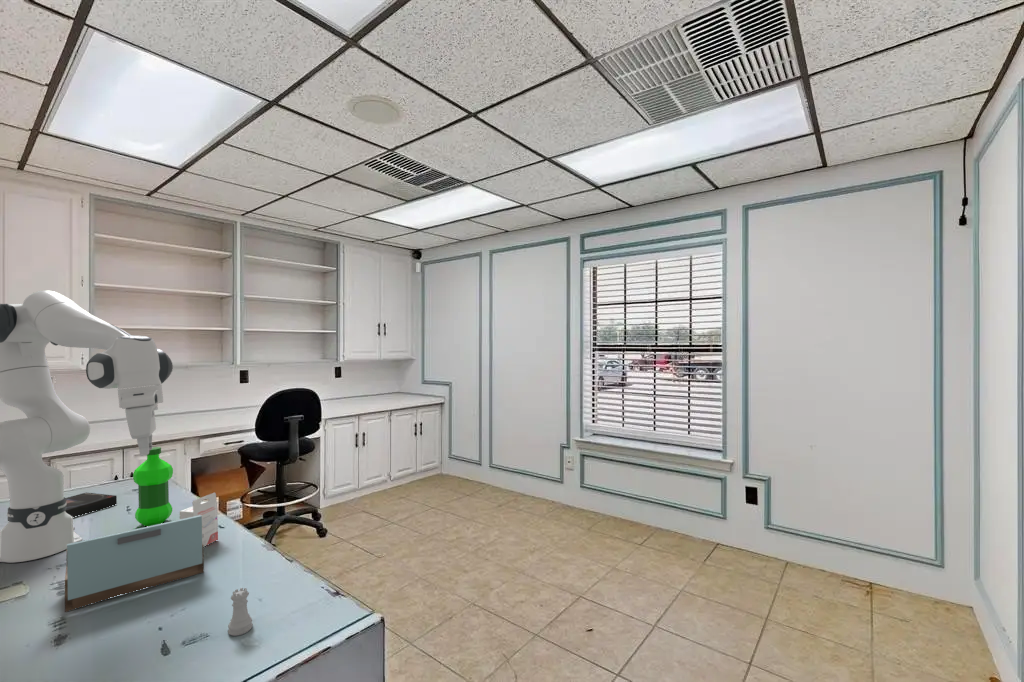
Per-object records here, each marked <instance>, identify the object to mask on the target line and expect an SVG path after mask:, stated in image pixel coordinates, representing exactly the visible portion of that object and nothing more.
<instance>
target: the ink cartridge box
mask: <svg viewBox="0 0 1024 682" xmlns="http://www.w3.org/2000/svg"><path fill="white" fill-rule="evenodd" d="M204 500H205V501H204ZM206 500H207V501H206ZM191 503H192V506H189V507H187V508H185V509H182V510H179V520H180V519H185V518H189V517H194V516H198V515H201V516H202V544H203V547H204V546H206V545H208V544H210V543H212V542H214V541H216V540H219V530H218V529H219V527H218V526H219V525H218V524H219V523H218V521H219V519H218V502H217V494H216V492H213V493H209V494H207V495H205V496H202V497H200V498H197V499H195V500H192V502H191ZM216 542H217V541H216ZM214 543H215V542H214ZM212 544H213V543H212ZM210 545H211V544H210ZM208 546H209V545H208ZM206 547H207V546H206ZM204 548H205V547H204Z"/></svg>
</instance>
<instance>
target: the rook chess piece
mask: <svg viewBox="0 0 1024 682" xmlns="http://www.w3.org/2000/svg"><path fill="white" fill-rule="evenodd" d="M249 594H250V592H249V591H248V589H247V587H244V588H243V587H240V588H238V589H235V590H234V591H233V592H232V595H231V597H230V599H231V601H233V603H232V604H231V606H232V608H233V609H232V615H231V618H230V622H229V623H228V626H227V627H228V630H227V633H228V634H229V635H230V636H232V637H238V636H242V635H244V634H246V633H248V632H249V631H250V630H251V629H252V628H253V626H254V624H253V618H252V617H251V615H250V613H249V611H248V602H249V601H248V599H247V598H248V597H249Z"/></svg>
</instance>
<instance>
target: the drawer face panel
mask: <svg viewBox="0 0 1024 682" xmlns="http://www.w3.org/2000/svg"><path fill="white" fill-rule="evenodd" d="M66 550H67V563H66V564H67V578H68V600H71V599H75V598H78V597H82V596H86V595H89V594H93V593H97V592H100V591H104V590H107V589H111V588H115V587H118V586H122V585H126V584H129V583H133V582H136V581H140V580H144V579H147V578H151V577H155V576H158V575H162V574H165V573H169V572H173V571H176V570H180V569H183V568H187V567H191V566H194V565H198V564H202V516H201V515H198V516H194V517H189V518H185V519H180V518H179V519H177V520H171V521H167V522H166V521H165V522H164V523H162V524H157V525H153V526H148V527H145V526H144V527H139V528H134V529H130V530H125V531H121V532H118V533H117V532H115V533H112V534H107V535H102V536H98V537H94V538H89V539H85V540H82V541H79V542H74V543H70V544H67V549H66Z"/></svg>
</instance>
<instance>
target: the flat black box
mask: <svg viewBox="0 0 1024 682" xmlns="http://www.w3.org/2000/svg"><path fill="white" fill-rule="evenodd" d="M65 498H66V502H67V505H66V510H65V511H66V513H67V514H69V515H71V516H72V517H75V516H78V515H82V514H85V513H89V512H92V511H96V510H99V511H101V510H100V509H102V510H104V509H103V508H106V507H109V506H112V505H115V504H118V501H117V499H118V498H117V495H114V494H104V493H95V492H83V493H79V494H76V495H75V494H74V495H72V496H68V497H65ZM112 507H113V506H112ZM109 508H110V507H109ZM106 509H107V508H106ZM96 512H97V511H96ZM89 514H90V513H89Z"/></svg>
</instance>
